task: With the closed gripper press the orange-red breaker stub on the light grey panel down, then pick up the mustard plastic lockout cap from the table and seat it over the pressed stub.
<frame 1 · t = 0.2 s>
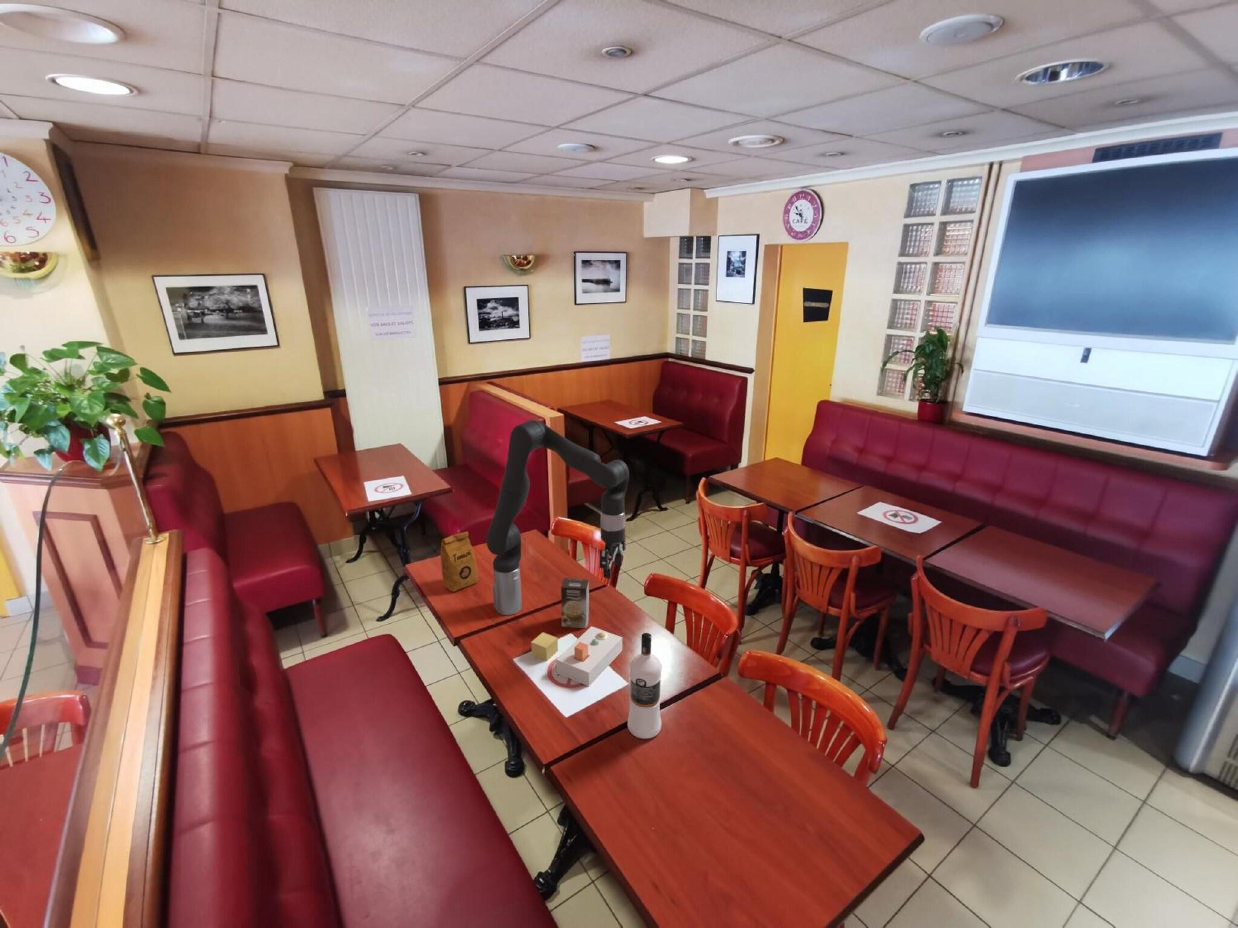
hand: (612, 571, 184), 29 cm above the table, fingers open, 8 cm apart
vodka: (644, 727, 160), on the table
lockout cap: (545, 652, 191), on the table
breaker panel: (590, 661, 187), on the table
coffee package: (461, 585, 230), on the table
coffee box: (575, 623, 207), on the table
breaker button: (581, 652, 181), point 7 cm above the table, slide at 0.0 cm
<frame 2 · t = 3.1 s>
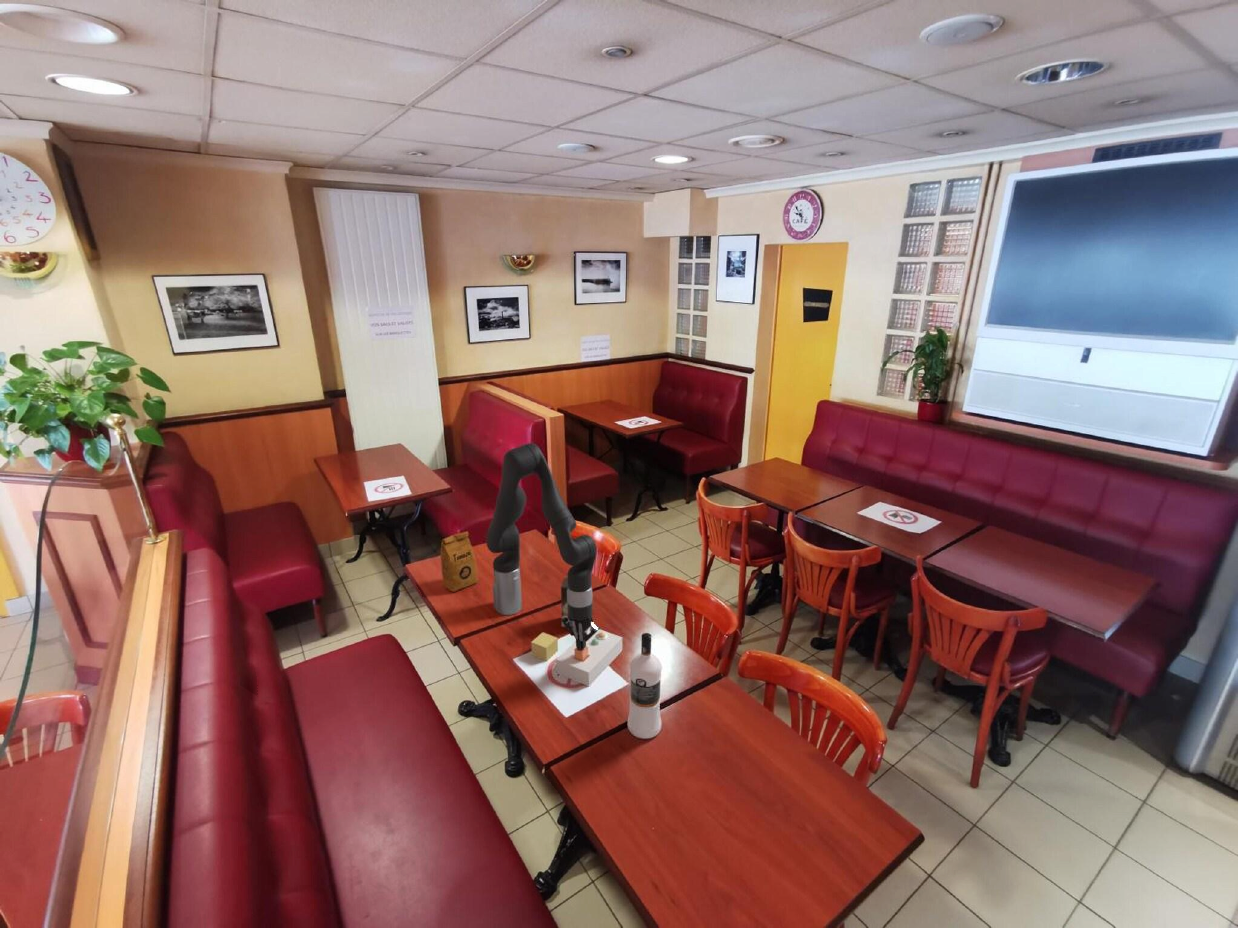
hand: (581, 648, 180), 8 cm above the table, fingers closed
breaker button: (581, 654, 181), point 6 cm above the table, slide at 0.8 cm, touching gripper
everything else where it was.
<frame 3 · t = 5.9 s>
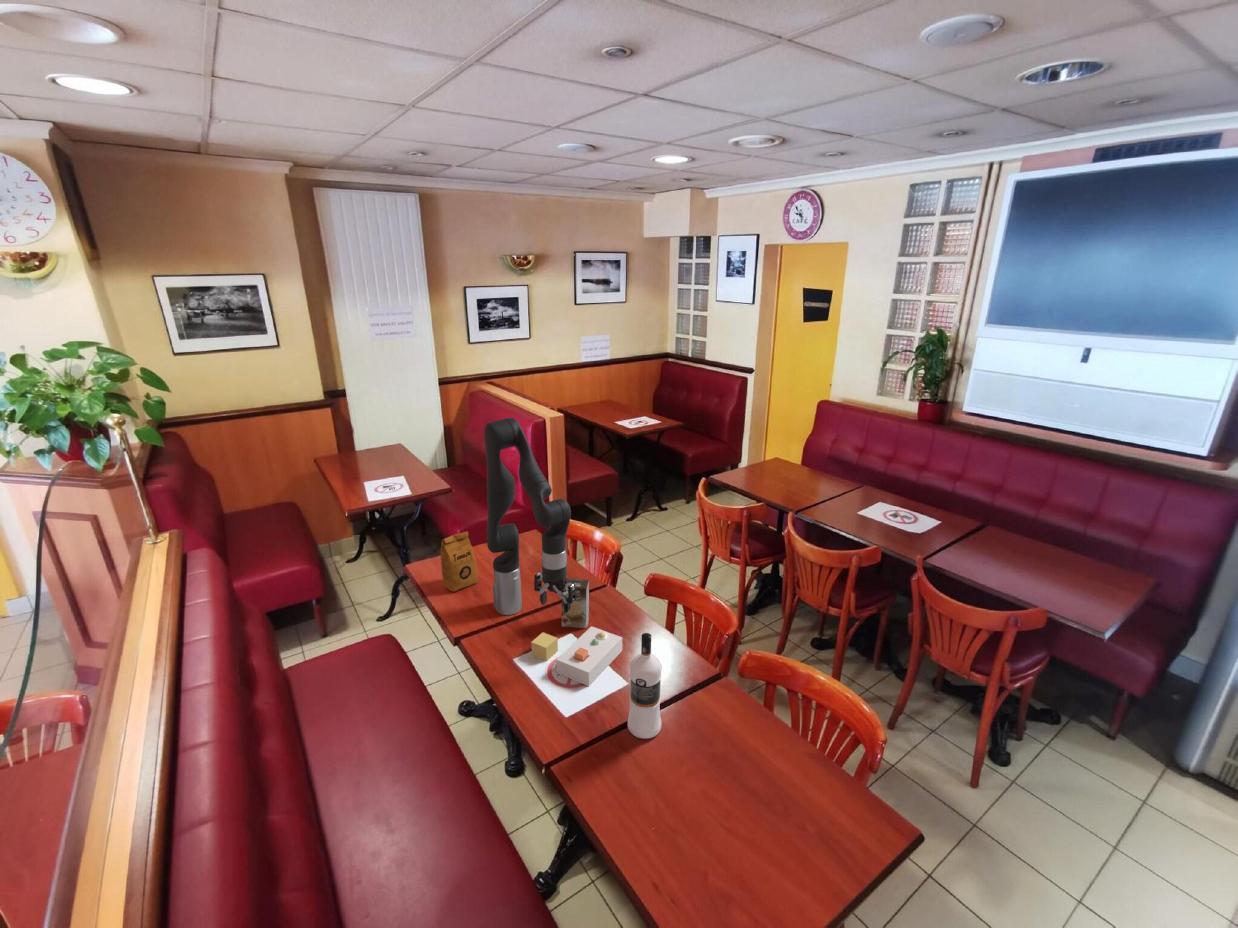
hand: (555, 607, 183), 18 cm above the table, fingers open, 8 cm apart
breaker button: (581, 658, 181), point 4 cm above the table, slide at 2.0 cm
everything else where it was.
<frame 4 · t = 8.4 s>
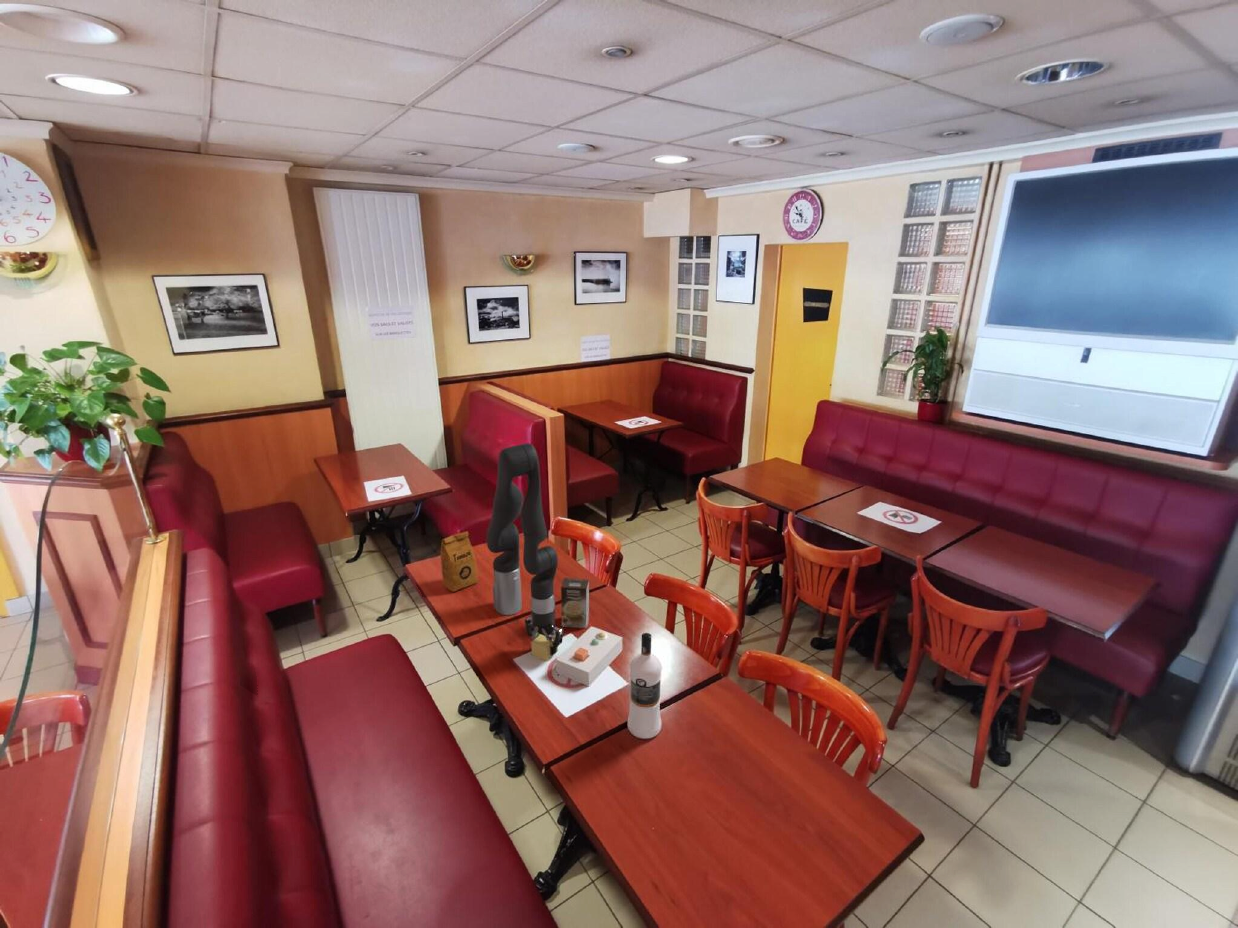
hand: (545, 650, 190), 1 cm above the table, fingers closed on lockout cap, 6 cm apart
lockout cap: (545, 652, 191), on the table, touching gripper
everything else where it was.
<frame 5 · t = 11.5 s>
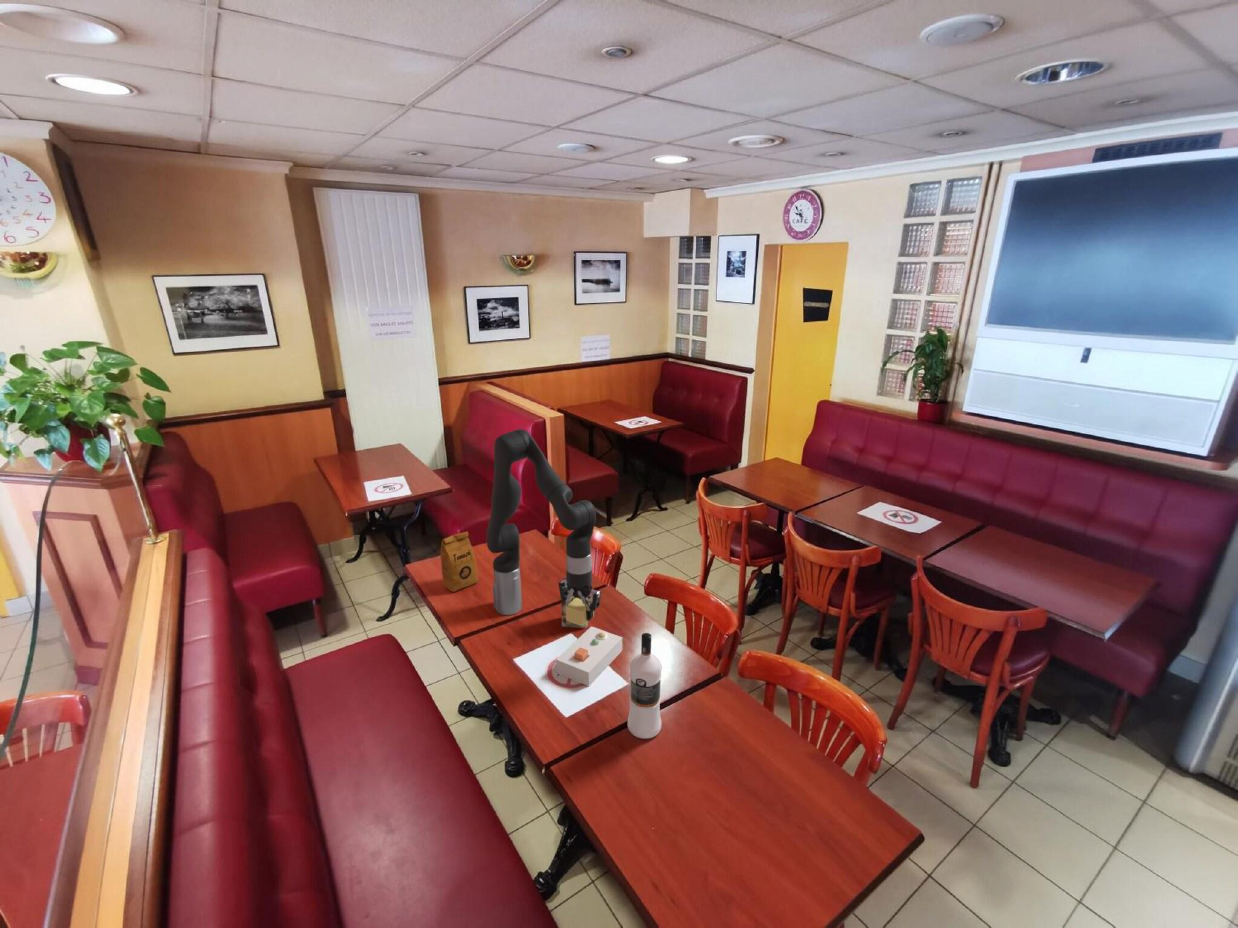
hand: (580, 616, 176), 20 cm above the table, fingers closed on lockout cap, 6 cm apart
lockout cap: (580, 618, 176), point 19 cm above the table, touching gripper
everything else where it was.
when the fingers open (7 cm above the table, at t = 15.0 s): lockout cap drops 1 cm, resting on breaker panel.
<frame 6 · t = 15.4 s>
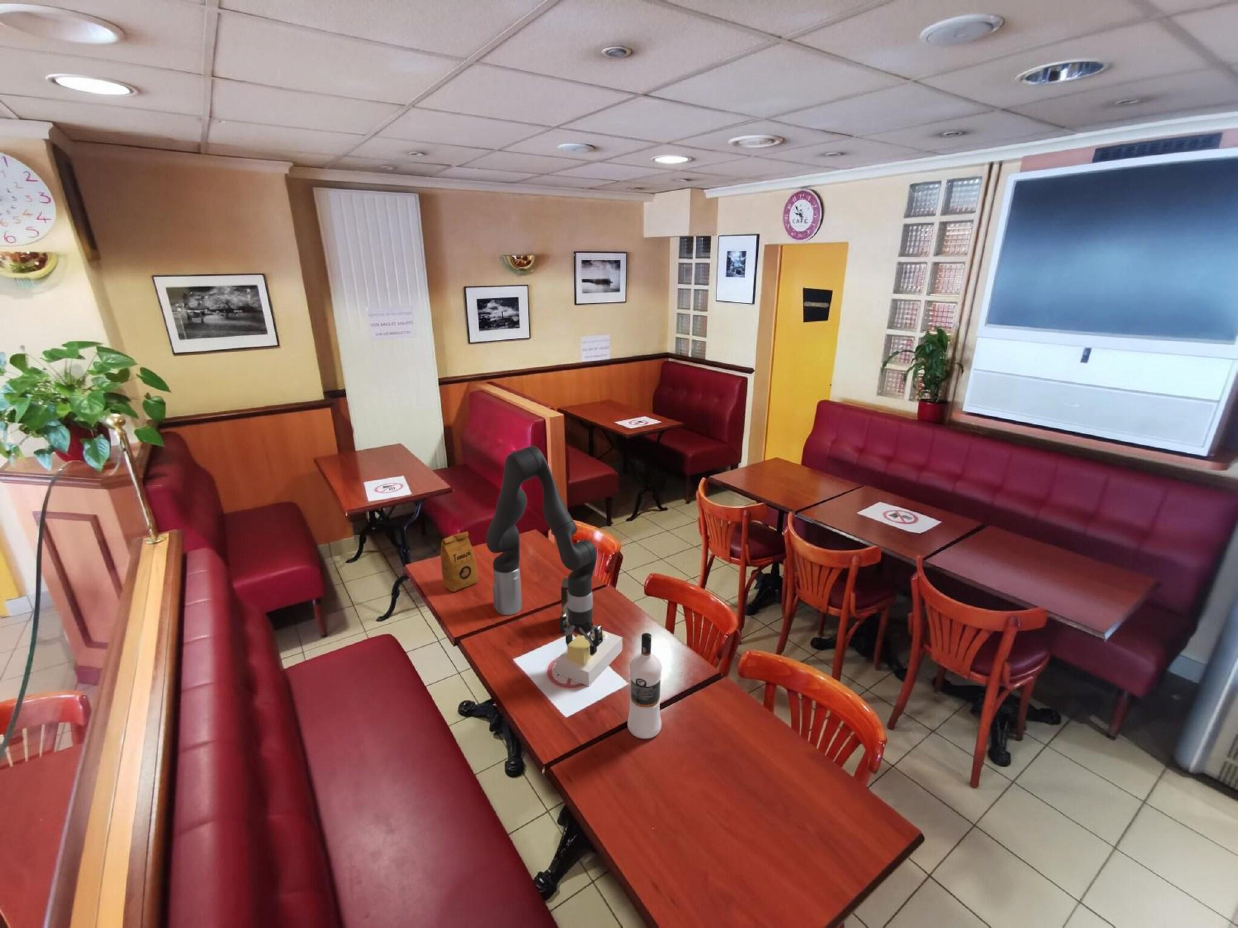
hand: (581, 649, 180), 8 cm above the table, fingers open, 8 cm apart
lockout cap: (581, 656, 181), point 5 cm above the table, touching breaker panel
everything else where it was.
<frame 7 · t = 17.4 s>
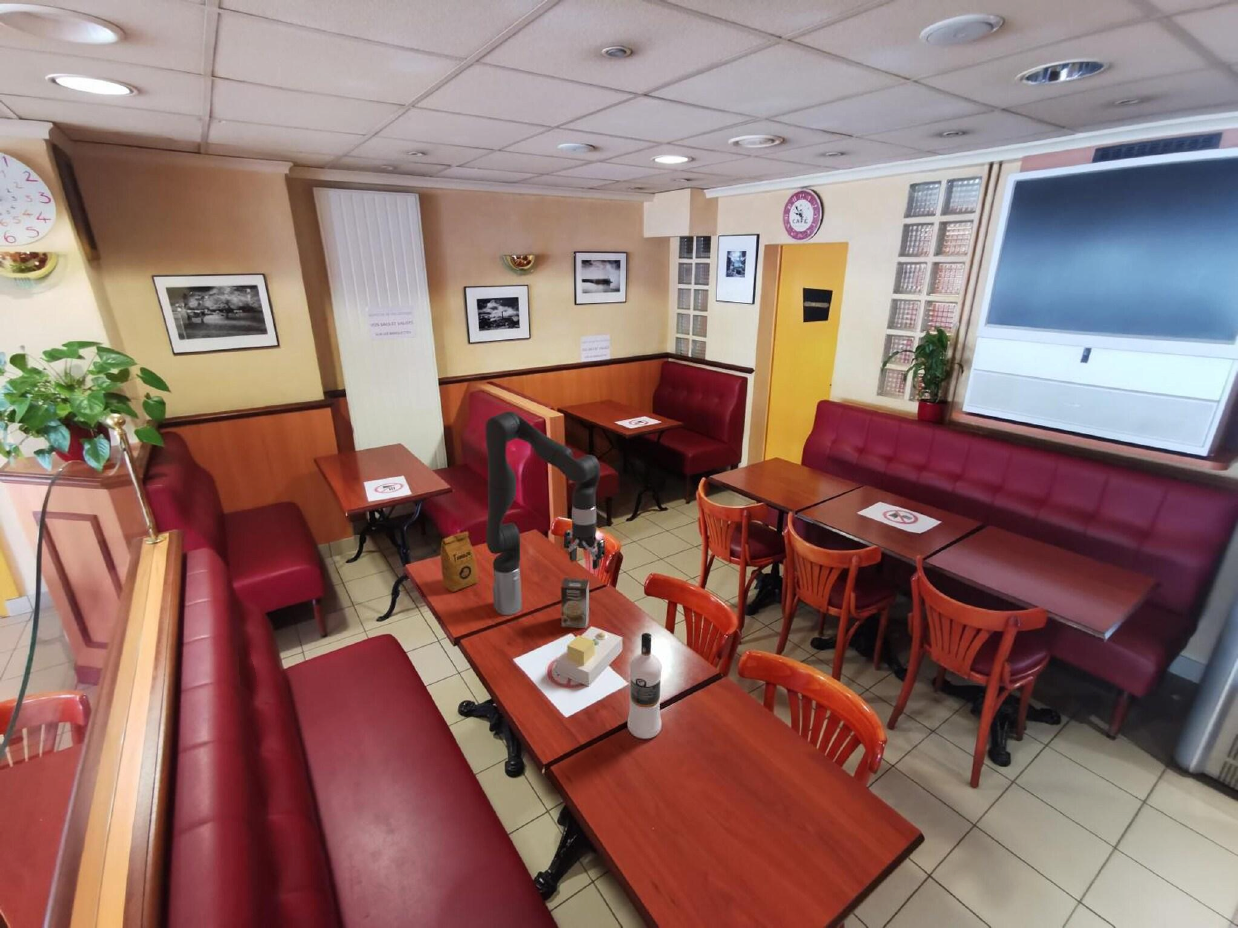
hand: (584, 564, 186), 29 cm above the table, fingers open, 8 cm apart
nothing on the table moved.
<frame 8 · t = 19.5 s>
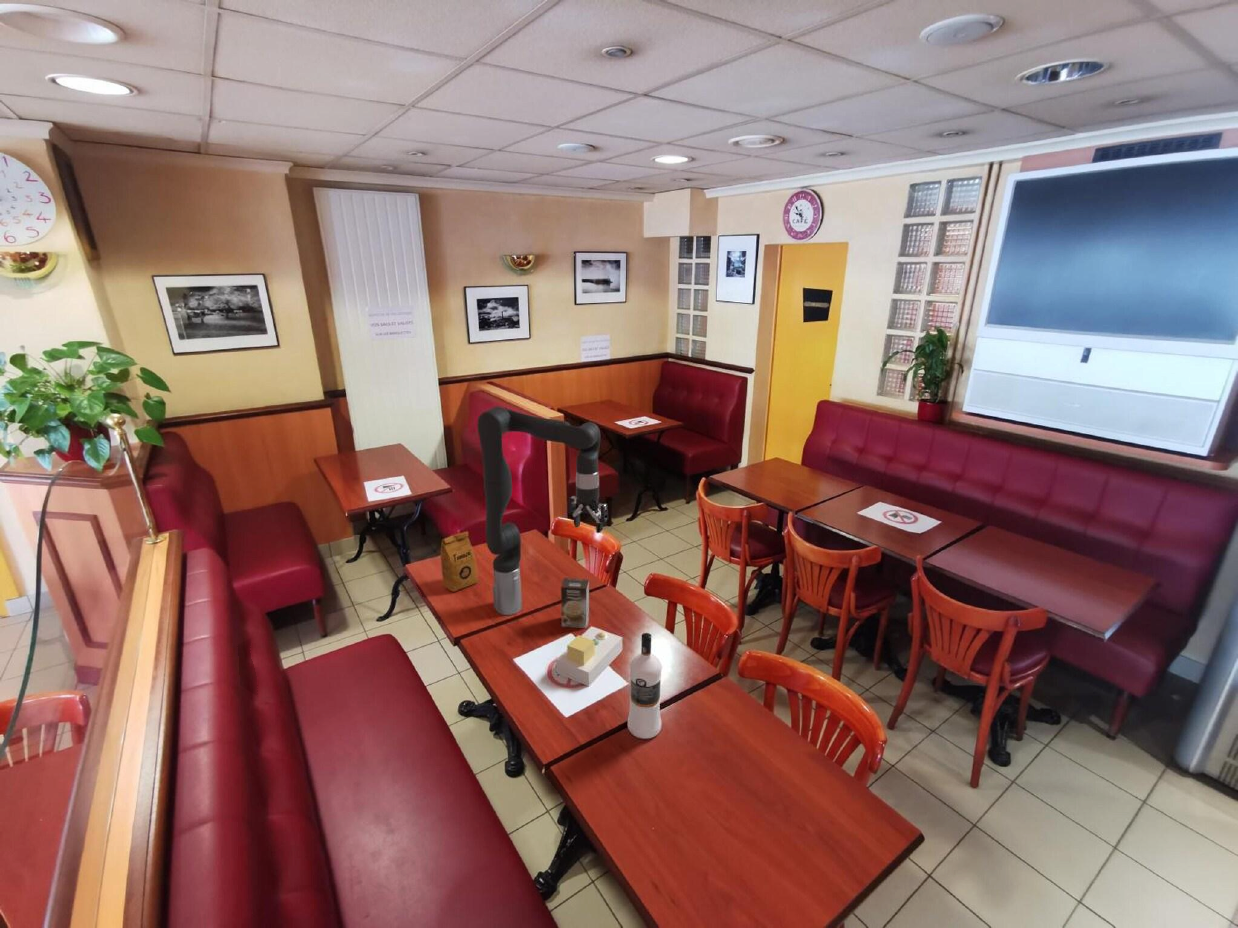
hand: (588, 529, 195), 36 cm above the table, fingers open, 8 cm apart
nothing on the table moved.
at the end: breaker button slide at 2.0 cm; lockout cap 0.0 cm from the target spot on the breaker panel, point 5.0 cm above the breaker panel's base; lockout cap tilted 0° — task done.
